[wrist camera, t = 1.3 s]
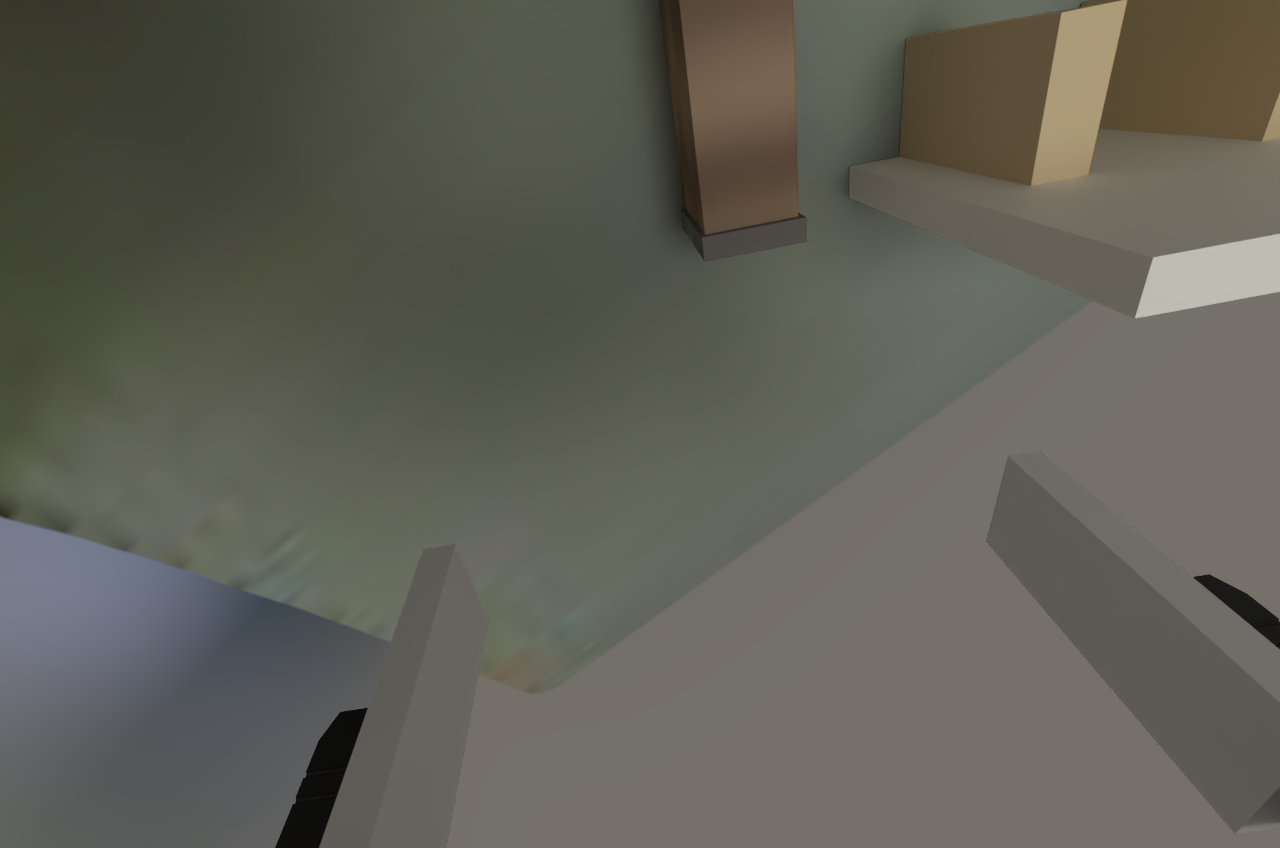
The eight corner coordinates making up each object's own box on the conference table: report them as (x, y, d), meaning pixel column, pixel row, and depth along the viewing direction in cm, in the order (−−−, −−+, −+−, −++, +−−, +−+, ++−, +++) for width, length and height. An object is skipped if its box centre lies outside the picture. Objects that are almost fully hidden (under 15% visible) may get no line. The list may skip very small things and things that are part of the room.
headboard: (851, 49, 26) (1234, -12, 10) (1181, -18, 25) (2094, -185, 10) (848, 197, 29) (1134, 318, 14) (1140, 140, 29) (1775, 199, 13)
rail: (618, -281, 20) (627, -419, 15) (738, -307, 20) (793, -457, 15) (683, 229, 29) (704, 261, 24) (766, 213, 29) (806, 241, 24)
